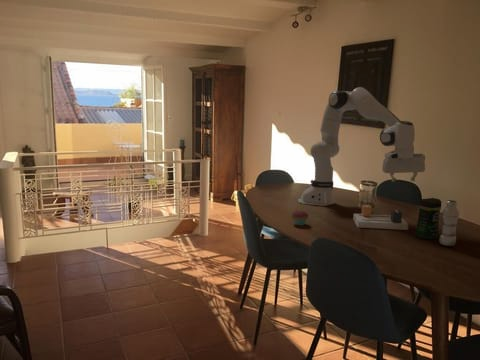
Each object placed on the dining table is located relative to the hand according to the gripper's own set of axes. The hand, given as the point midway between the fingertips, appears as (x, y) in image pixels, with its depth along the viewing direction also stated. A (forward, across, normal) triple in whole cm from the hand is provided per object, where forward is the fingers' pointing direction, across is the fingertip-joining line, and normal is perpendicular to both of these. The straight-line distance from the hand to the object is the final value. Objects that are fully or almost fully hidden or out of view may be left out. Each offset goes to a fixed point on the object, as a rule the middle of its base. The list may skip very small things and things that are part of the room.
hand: (403, 181), depth 200 cm
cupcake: (+20, +53, +2) cm, 56 cm away
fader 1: (+19, +16, -6) cm, 26 cm away
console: (+23, +11, -1) cm, 25 cm away
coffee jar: (+24, -5, +19) cm, 30 cm away
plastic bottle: (+24, -9, +30) cm, 39 cm away
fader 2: (+20, +4, +4) cm, 20 cm away
